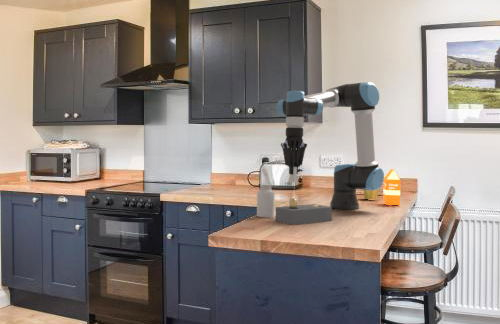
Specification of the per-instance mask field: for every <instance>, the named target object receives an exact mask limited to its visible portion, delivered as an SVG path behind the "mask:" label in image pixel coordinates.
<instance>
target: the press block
mask: <svg viewBox="0 0 500 324" xmlns="http://www.w3.org/2000/svg"><path fill="white" fill-rule="evenodd" d="M311 205H318V207H311ZM289 206H290V205H286V206H276V207H275V217H274V219H275V222H279V223H283V222H284V224H287V223H288V224H287V225H291V224H292V225H291V226H293V224H297V225H305V224H304V223H306V224H313V223H315V224H316V223H324V222H332V219H333V217H332V216H333V213H332V210H333V208H332V207H330V206H326V205H321V204H315V203H309V204H297V209H290V208H289Z"/></svg>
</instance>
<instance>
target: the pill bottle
mask: <svg viewBox="0 0 500 324" xmlns="http://www.w3.org/2000/svg"><path fill="white" fill-rule="evenodd" d="M259 186H260V187H259V188H260V189H259V190H258V191H257V193H256V194H257V195H256V216H257V217H259V218H264V219H265V218H267V219H268V218H274V217H275V191H274V190H272V189H273V188H272V187H273V186H272V184H271V183H261V184H259Z"/></svg>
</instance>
